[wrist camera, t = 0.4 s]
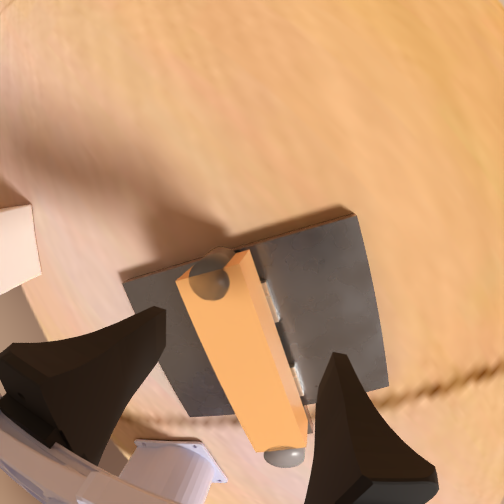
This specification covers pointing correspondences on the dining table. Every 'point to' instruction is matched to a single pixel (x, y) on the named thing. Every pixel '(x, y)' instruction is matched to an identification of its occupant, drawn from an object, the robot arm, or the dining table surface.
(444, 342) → the dining table surface
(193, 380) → the server tray
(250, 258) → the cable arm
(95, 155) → the dining table surface
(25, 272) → the milk carton
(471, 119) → the dining table surface
